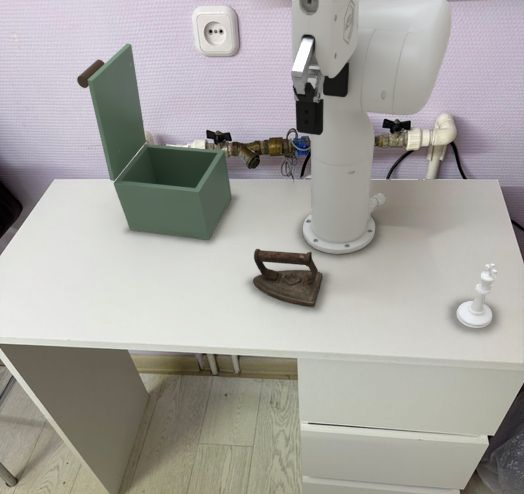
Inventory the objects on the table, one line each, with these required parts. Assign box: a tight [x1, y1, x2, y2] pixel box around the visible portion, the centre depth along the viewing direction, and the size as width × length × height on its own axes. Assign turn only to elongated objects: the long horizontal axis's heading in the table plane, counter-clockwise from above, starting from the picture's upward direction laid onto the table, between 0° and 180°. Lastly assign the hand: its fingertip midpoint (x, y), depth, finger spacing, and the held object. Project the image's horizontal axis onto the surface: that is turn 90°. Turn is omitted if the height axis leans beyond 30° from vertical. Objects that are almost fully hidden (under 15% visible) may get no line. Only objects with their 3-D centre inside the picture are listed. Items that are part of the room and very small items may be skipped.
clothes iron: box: [252, 248, 323, 308], centre depth 77 cm, size 7×11×10 cm, turn 76°
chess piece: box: [455, 262, 498, 329], centre depth 69 cm, size 5×5×10 cm
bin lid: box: [76, 43, 147, 182], centre depth 82 cm, size 17×13×5 cm
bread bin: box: [113, 143, 233, 241], centre depth 91 cm, size 16×13×10 cm
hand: (323, 113), depth 62 cm, fingers open, 9 cm apart
